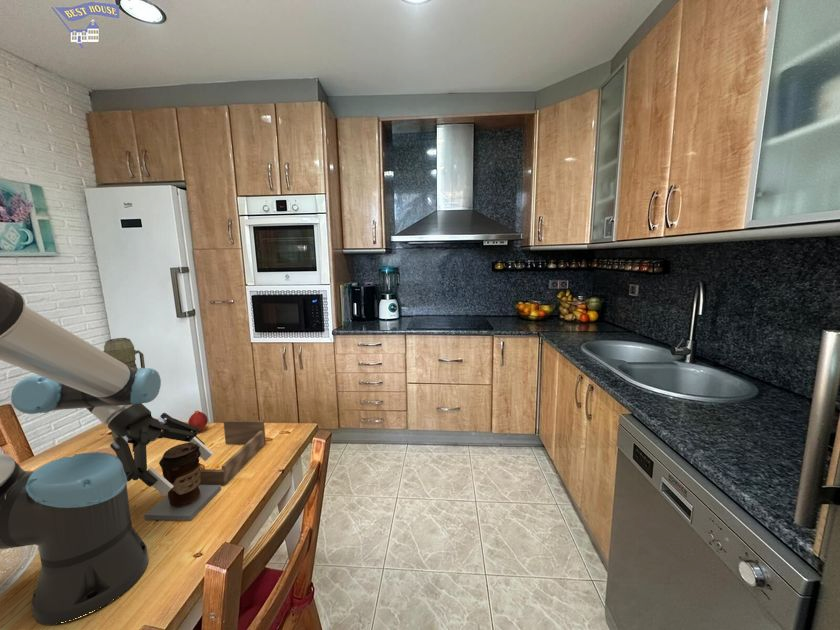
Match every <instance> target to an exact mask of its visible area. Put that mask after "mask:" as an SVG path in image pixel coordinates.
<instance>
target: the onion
mask: <svg viewBox="0 0 840 630" xmlns="http://www.w3.org/2000/svg"><path fill="white" fill-rule="evenodd" d="M208 422H209V421H208V416H207V415H206V414H205V413H203V412H202V411H199V410H198V409H197V410H195V411H194V413H192V414H191V415H190V417H189V419H188V423H187V424H189V425H192V426H194V427H197V428H199V432H201V431H202V430H203V429H204V428H205V427H206V426H207V425H208Z"/></svg>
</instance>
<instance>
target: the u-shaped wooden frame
mask: <svg viewBox="0 0 840 630" xmlns="http://www.w3.org/2000/svg"><path fill="white" fill-rule="evenodd" d="M223 429H224V430H223V432H224V441H225V445H226V444H232V445H233V444H234V445H237V446H240V445H241V446H242V447H240V448H239V449H238V450H237V452H236V453H234V454H233V455H231V457H230V458H228V459H227V461H226V462H224V464H221V469H215V468H213V469H212V468H207V469H205V468H204V469H203V468H200V480H201V482H200V484H199V485H221V487H223V486H224V487H225V486H226V485H227V484H228V483H229V482H230V481H231V480H232V479H233V478H234V477H235V476H236V474H237V473H239V472H240V471H241V469H243V468H244V466H246V464H247V463H248V462H249V461H250V460H251V459H252V458H253V457H254V456H255V455H256V454H257V453H258V452H259V451H260V450H261V449H262V448H263V447H264V446H265V444H266V431H265V421H264V420H243V419H242V420H237V419H236V420H233V419H230V420H227V419H226V420H223ZM232 445H231V446H232Z"/></svg>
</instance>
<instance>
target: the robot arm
mask: <svg viewBox="0 0 840 630" xmlns="http://www.w3.org/2000/svg"><path fill="white" fill-rule="evenodd" d="M103 351H104V350H102V349H100V348H98V347H97V346H94V345H93V344H91V343H90V342H88V341H86V340H84V339H83V338H80V337H79V336H77V335H76V334H74V333H72V332H71V331H70V330H67V329H65V328H64V327H62V326H60V325H58V324H56V323H55V322H53V321H51V320H50V319H48V318H47V317H44V315H42V314H40V313H38V312H36V311H35V310H33V309H31V308H30V307H28V306H26V301H25V298H24V297H23V295H22V294H21V293H19V292H17V290H15V289H13V288H12V287H9V286H8V285H7V284H5V283H3V282H1V281H0V361H3V362H4V363H6V364H7V363H8V364H10V365H12V366H15V367H18V368H20V369H23V370H25V371H28V372H30V373H32V374H36V375H31V376H27V377H25V378H23V379H21V380H20V381H18V382H17V383H16V384H15V386H13V388H12V390H11V393H10V397H11V398H10V401H11V404H12V406H13V407H14V408H15V409H16V410H17V411H19V412H20V413H23V414H28V415H35V414H45V413H46V414H47V413H49V412H54V411H60V410H61V411H62V410H63V411H64V410H73V409H74V410H75V409H86V410H87V411H89V412H90V413H91V414H92V415H93V416H94V417H96V419H97V420H99V421H100V422H101V423H102V424H103V425H107V428H108V429H109V430H110V431H111V433H112V432H114V433H115V434H116V435H117V436H119V437H117V438H116V439H115V440H114V439H113V440H112V441H113V442H111V444H110V445H109V447H111V448H112V449H113V450H114V451H115V452H116V455H117V457H116V456H114V455H112V454H108V453H101V452H93V453H89V452H83V453H78V454H74V455H72V456H64V457H60V458H58V459H55V460H51V461H50V462H48V463H45V464H43V465H41V466H40V467H38V468H36V469H35V470H33V471H28V470H24V469H23V468H22V467H21V466H20V465H19V464H18V462H17V461H16V460H15V459H14V458H13V457H12V456H11V455H9V454H6V453H0V550H6V549H13V548H19V547H20V548H21V547H27V546H37V547H38V552H39V558H40V565H41V567H40V572H39V575H38V579H37V584H36V588H35V590H34V592H33V596H32V598H31V611H32V615H33V618H34V620H35V621H36V622H37V623H38V624H42V625H45V624H55V625H57V624H56V623H61V622H65V621H69V620H73V619H75V618H78V617H80V616H83V615H85V614H88V613H89V612H92V611H94V610H97V609H99V608H100V607H102V606H104V605H106V604H107V603H109V602H111V601H112V600H113V599H115V598H117V597H118V596H119V597H120V595H121V594H122V595H123V594H124V593H126V592H127V591H128V590H129V589H130V588H132V587H133V586H134V585H135V583H137V581H138V580H139V579H140V578H141V577H142V575H143V573H144V572H145V571H146V568H147V566H148V564H149V553H148V547H147V545H146V543H145V542H144V540H143V539H142V537H141V536H140V535H139V533H138V532H137V531H136V530H135V528H134V527H133V525H132V519H131V509H130V501H129V500H130V499H129V493H128V486H127V483H128V482H130V481H131V480H132V481H138V480H140V481H141V482H142V483H144V484H145V485H146V486H148V487H149V488H151V487H153V489H155V490H156V491H157V492H158V493H159V494H161V495H162V496H163V497H166V496H167V495H168V492H169V491H170V490H171V489H172V488H173V487H174V486H173V485H172V484H171V483H170V482H168V481H167V480H166V479H165V478H164V477H163V474H160V472H158V471H157V470H156V469H155V468H153V467H152V466H151V467H149V468H148V459H147V456H148V455H147V446H148V445H149V444H150V443H152V442H154V441H156V440H157V439H159V440H160V439H168V440H174V441H179V442H180V441H181V442H184V443H194V444H198V446H199V447H200V448H199V450H200V452H201V456H200V457H199V458H201V459H202V460H203V461H204V462H206V461H208V460H209V459H210V458H211V457H212V456H213V455H214V452H213V451H212V450H211V449H209V448H208V447H207V446H206V445H205V442H204V441H203V440H201V438H199V437H198V436H197V435H198V434H199V432H200V431H199V428H197V427H194V426H192V425H189V424H188V423H187V422H184V421H181V420H179V419H176V418H174V417H172V416H170V415H169V414H167V413H166V412H163V413H162V414H161V415H160V416H159V417H157V418H155V417H153V415H152V411H151V410H150V409H149V408H148V407H146V406H145V405H144V404H147V403H150V402H153V401H154V400H155V399H156V398H157V397H158V395H159V394H160V391H161V390H160V389H161V386H162V385H161V383H162V379H161V377H160V374H159V372H158V371H157V370H156V369H154V368H146V367H145V368H141V367H138V368H137V369H133V368H131V367H129V366H127V365H125V364H124V363H122V362H120V361H118V360H117V359H115V358H113V357H112V356H110V355H108V354H107V353H105V352H103ZM198 431H199V432H198ZM121 436H122V437H121ZM128 443H131V445H132V451H131V447H130V444H128ZM132 453H133V454H132ZM127 589H128V590H127ZM126 590H127V591H126ZM125 591H126V592H125ZM122 595H121V596H122ZM119 597H118V598H119ZM118 598H117V599H118ZM115 600H116V599H115ZM112 602H113V601H112ZM112 602H111V603H112ZM109 604H110V603H109ZM107 605H108V604H107ZM107 605H106V606H107ZM104 607H105V606H104ZM102 608H103V607H102ZM99 610H100V609H99ZM97 611H98V610H97ZM73 621H74V620H73Z"/></svg>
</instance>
